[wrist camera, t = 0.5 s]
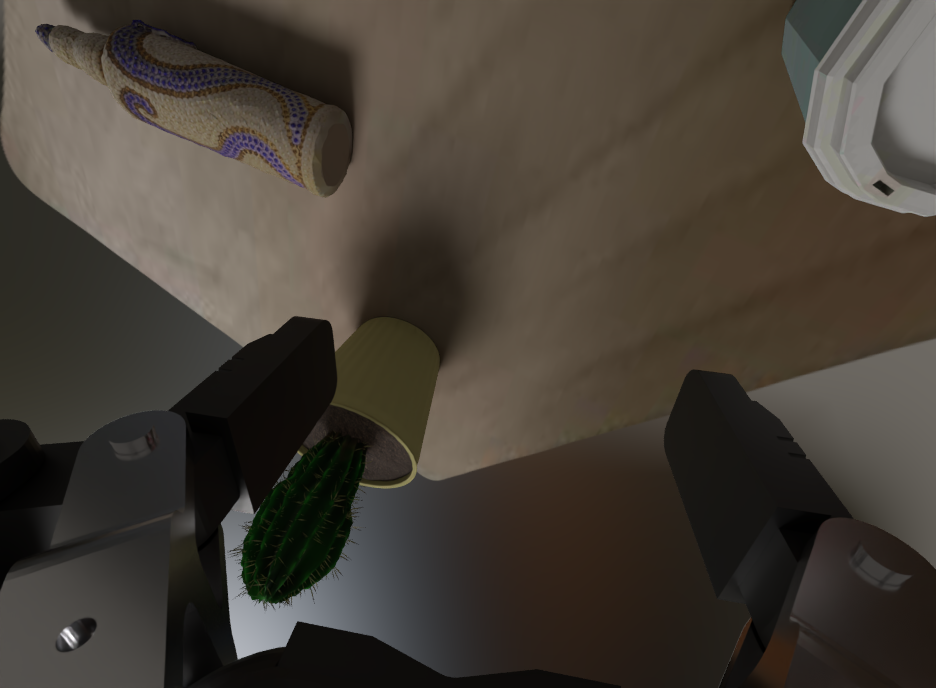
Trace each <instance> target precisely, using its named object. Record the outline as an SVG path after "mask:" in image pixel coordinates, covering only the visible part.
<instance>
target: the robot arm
mask: <svg viewBox="0 0 936 688" xmlns="http://www.w3.org/2000/svg"><path fill="white" fill-rule="evenodd" d="M336 388H337V368H336V359H335V349H334V340H333V331H332V326H331V324H330V322H329V321H327V320H321V319H314V318H306V317H298V316H294V317H292V318H291V319H290V320H289V321H287V322H286V323H285V324H284V325H283V326H282V327H281V328H279V329H278V330H277V331H276V332H275V333H274V334H268V335H266V336H264V337H262V338H259V339H257V340H255V341H253V342H251V343H249V344H247V345H246V346H245V347H243V348H242V349H241V350H240V351H239V352H238V353H236V354H235V355H234V356H233V357H232V360H228V361H227V362H225V364H223V365H222V366H221V367H219V371H215V372H214V373H212V374H211V375H210V376H209V377H208V378H206V379H205V380H204V381H203V382H202V383H200V384H199V385H198V386H197V387H196V388H194V389H193V390H192V391H191V392H190V393H189V394H187V395H186V396H185V397H184V398H182V399H181V400H180V401H179V402H178V403H177V404H175V405H174V406H173V407H172V408H171V409H169V410H168V411H164V410H152V411H144V412H138V413H134V414H130V415H127V416H124V417H122V418H119V419H117V420H114V421H112V422H110V423H108V424H106V425H104V426H103V427H101V428H100V429H98V430H96V431H95V432H94V433H93V434H91V435H90V436H89V437H88V438H87V439H86V440H85V441H81V442H70V443H56V444H43V445H40V444H39V443H38V441H37V439H36V438H35V436H34V434H33V433H32V431H31V429H30V428H29V426H28V425H27V424H26V423H24V422H21V421H18V420H11V419H10V420H9V419H2V420H0V688H621V686H618V685H613V684H607V683H602V682H598V681H593V680H588V679H583V678H578V677H573V676H568V675H563V674H558V673H553V672H548V671H543V670H538V669H535V670H526V671H517V672H507V673H498V674H489V675H479V676H470V677H460V678H451V677H447V676H444V675H442V674H440V673H438V672H436V671H434V670H433V669H431V668H429V667H427V666H426V665H424V664H422V663H420V662H418V661H416V660H414V659H413V658H411V657H409V656H407V655H406V654H404V653H402V652H400V651H398V650H397V649H395V648H393V647H391V646H389V645H388V644H386V643H384V642H382V641H380V640H378V639H377V638H375V637H373V636H368V635H363V634H358V633H353V632H348V631H343V630H338V629H333V628H328V627H323V626H318V625H314V624H308V623H304V622H297V623H296V626H295V628H294V630H293V632H292V634H291V636H290V639H289V641H288V643H287V645H286V647H280V648H275V649H270V650H266V651H262V652H258V653H255V654H252V655H249V656H247V657H244V658H241V659H238V658H237V653H236V648H235V644H234V640H233V636H232V631H231V624H230V615H229V603H228V588H227V574H226V560H225V547H224V533H223V528H222V526H221V522H222V521H223V519H224V518H225V517H226V515H227V514H228V513H229V511H230V510H233V511H238V512H244V513H249V514H255V512H256V511H257V510H258V508H259V507H260V505H261V504H262V502H263V501H264V499H265V498H266V496H267V495H268V494H269V492H270V491H271V489H272V488H273V486H274V485H275V483H276V482H277V480H278V479H279V478H280V476H281V475H282V473H283V472H284V470H285V469H286V467H287V466H288V464H289V463H290V462H291V460H292V459H293V457H294V456H295V454H296V453H297V451H298V450H299V449H300V447H301V446H302V444H303V443H304V441H305V440H306V438H307V437H308V435H309V434H310V433H311V431H312V430H313V428H314V427H315V425H316V424H317V422H318V421H319V419H320V418H321V417H322V415H323V414H324V412H325V411H326V409H327V408H328V406H329V405H330V403H331V402H332V400H333V398H334V395H335V392H336ZM793 439H794V438H793V437H792V436H791V434H790V433H789V432H788V430H787V429H786V428H785V426H784V425H783V423H782V422H781V421H780V419H778V418H777V417H776V416H775V415H773V414H772V413H771V412H769V411H768V410H767V409H766V408H764V407H763V406H762V405H760V404H759V403H758V402H757V401H751V399H750V398H749V397H748V395H747V394H746V392H745V391H744V389H743V388H742V387H741V385H740V384H739V382H738V381H737V379H736V378H735V377H734V376H733V375H731V374H725V373H717V372H709V371H702V370H691V371H690V372H689V373H688V374H687V375H686V377H685V379H684V382H683V384H682V387H681V389H680V392H679V394H678V397H677V399H676V402H675V404H674V407H673V409H672V412H671V415H670V417H669V420H668V422H667V425H666V428H665V434H664V448H665V453H666V456H667V459H668V462H669V464H670V467H671V470H672V473H673V476H674V479H675V481H676V484H677V487H678V490H679V493H680V495H681V498H682V501H683V504H684V507H685V510H686V512H687V515H688V518H689V521H690V524H691V527H692V529H693V532H694V535H695V538H696V541H697V543H698V546H699V549H700V552H701V555H702V557H703V560H704V563H705V566H706V568H707V572H708V574H709V577H710V580H711V583H712V586H713V589H714V591H715V594H716V597H717V599H721V600H727V601H732V602H737V603H743V604H746V606H747V608H748V610H749V613H750V615H751V618H750V619H749V621H748V622H747V623H746V625H745V626H744V628H743V630H742V633H741V635H740V637H739V640H738V642H737V644H736V647H735V649H734V652H733V654H732V657H731V659H730V661H729V664H728V666H727V668H726V671H725V673H724V676H723V678H722V680H721V683H720V685H719V688H936V569H935V568H934V567H933V566H932V565H931V564H930V563H929V562H928V561H927V560H926V559H925V558H924V557H922V556H921V555H920V554H919V553H918V552H917V551H915V550H914V549H913V548H911V547H910V546H909V545H907V544H906V543H904V542H903V541H901V540H900V539H898V538H897V537H895V536H893V535H891V534H890V533H888V532H886V531H884V530H882V529H880V528H878V527H876V526H873V525H870V524H868V523H865V522H862V521H859V520H855V519H853V517H852V516H851V514H850V513H849V512H848V510H847V509H846V508H845V506H844V505H843V504H842V502H841V501H840V500H839V498H838V497H837V496H836V494H835V493H834V492H833V490H832V489H831V488H830V486H829V485H828V484H827V482H826V481H825V480H824V478H823V477H822V476H821V475H820V473H819V472H818V470H817V469H816V468H815V466H814V465H813V464H812V462H811V461H810V460H809V459H806V454H805V453H804V452H803V450H802V449H801V448H800V447H799V445H798V444H797V443H796V442H793Z"/></svg>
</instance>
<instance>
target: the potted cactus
mask: <svg viewBox="0 0 936 688" xmlns="http://www.w3.org/2000/svg"><path fill="white" fill-rule="evenodd" d="M335 359H336V368H337V388H336V392H335V395H334V398H333V400H332V402H331V403H330V405H329V406H328V408H327V409H326V411H325V412H324V414H323V415H322V417H321V418H320V419H319V421H318V422H317V424H316V425H315V427H314V428H313V430H312V431H311V433H310V434H309V435H308V437H307V438H306V440H305V441H304V443H303V444H302V446H301V447H300V449H299V450H298V451H297V452H298V453H299V454H300V455H301V456H302V458H301V460H300V461H298V462H297V463H296V464H295V465H294V466H293V467H292V468H291V470H290V472H289V474H288V477H287V479H286V480H284V481H282V482H281V481H280V482H279V483H278V482H277V483H278V484H277V485H276V486H274V488H272V489H271V491H270V492H269V494H268V495H267V496H266V498H265V500H264V502H262V504H261V506H260V509H259V511H258V512H257V514H256V516H255V518H254V519H253V523H252V526H248V525H247V526H248V527H247V528H250V529H249V531H248V530H246V529H245V530H246V531H248V534H247V536H246V538H245V539H244V542H243V544H244V546H243V550H242V549H237V548H236V549H237V550H241V551H242V555H243V557H242V560H241V562H240V563H241V566H242V567H243V571H242V575H241V576H242V577H241V578H243V582H244V584H246V586H245V587H246V588H245V589H246V590H247V591H248V595H250V596H251V599H252V600H256V599H259V603H260V602H261V601H264V603H263V604H265V601H266V602H269V603H271V605H272V603H275V604H277V603H278V602H279V603H282V602H283V601H286V602H287V601H288V602H290V601H289V600H288V598H290V597H291V600H292V596H296V595H297V594H299V593H301V590H303V589H309V588H310V589H311V586H313V585H314V584H315V583H316V582H318V581H320V580H321V579H322V578H323V577H324V576H325V575H327V574H328V573H329V572H330V571H331V570H332V569H334V567H335V565H336V562H337V561H338V559H339V557H342V556H340V555H341V552H342V549H343V548H344V546H345V543H346V541H347V539H348V537H349V534H350V529H351V528H350V527H351V526H352V524H353V521H352V517H354V516H351V515H352V514H354V513H351V510H352V509H351V504H352V502H353V500H355V499H354V498H355V493H356V492H357V490H358V486H359V485H364V486H369V487H375V488H395V487H400V486H403V485H405V484H408V483H409V482H411V481H412V479H413V478H414V477H415V474H416V472H417V464H418V461H419V457H420V452H421V448H422V443H423V438H424V434H425V429H426V425H427V420H428V416H429V411H430V407H431V403H432V398H433V394H434V389H435V385H436V380H437V376H438V371H439V367H440V356H439V352H438V350H437V348H436V346H435V344H434V343H433V341H432V340H431V339H430V338H429V337H428V336H427V335H426V334H425V333H424V332H423V331H421V330H420V329H419V328H417V327H416V326H414V325H412V324H410V323H408V322H405V321H403V320H400V319H396V318H390V317H378V318H373V319H370V320H368V321H367V322H365V323H364V324H362V325H361V326H360V327H359V328H358V329H357V330H356V331H355V332H354V333H353V334H352V335H351V336H350V337H349V338H348V339H347V340H346V341H345V342H344V344H343V345H342V346H341V347H340V348H339V349H338V350H337V351H336V352H335ZM285 471H287V470H285ZM284 478H285V477H284ZM359 490H360V489H359ZM364 493H365V492H364ZM356 500H357V499H356ZM352 506H353V505H352ZM354 509H358V508H354ZM357 513H358V512H357ZM248 523H250V522H248ZM243 527H245V526H243ZM348 541H350V540H348ZM351 542H352V541H351ZM353 543H354V542H353ZM347 544H348V543H347ZM232 551H236V550H235V549H234V550H232ZM241 551H240V552H241ZM230 552H231V551H230ZM240 552H237V553H240ZM234 554H235V553H234ZM237 555H238V554H237ZM234 556H235V555H234ZM345 556H346V555H345ZM346 557H347V556H346ZM342 558H344V557H342ZM344 559H345V558H344ZM346 560H347V559H346ZM337 570H338V569H337ZM338 571H339V570H338ZM339 573H340V572H339ZM335 574H336V573H335ZM326 577H327V576H326ZM316 585H317V583H316ZM243 588H244V587H243ZM313 588H314V586H313ZM314 589H315V588H314ZM304 591H305V590H304ZM243 592H244V591H243ZM311 593H312V590H311ZM244 594H245V593H244ZM300 595H301V594H300ZM312 596H313V594H312ZM263 599H264V600H263ZM286 602H285V603H286ZM288 602H287V604H289V603H288ZM283 603H284V602H283ZM291 605H292V604H291ZM272 606H273V605H272ZM264 608H265V607H264ZM273 608H274V607H273Z"/></svg>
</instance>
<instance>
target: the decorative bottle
mask: <svg viewBox="0 0 936 688" xmlns="http://www.w3.org/2000/svg"><path fill="white" fill-rule="evenodd" d="M138 24H141V25H143V27H142V26H138ZM148 28H151V30H150V29H148ZM35 32H36V33H37V36H38V38H39V39H40V40H41V41H42V42H43V43H44V45H45V46H46V47H47V48H48V49H49V50H51V51H52V52H54V53H55V55H56V56H57V57H59V58H60V59H61V60H63V61H64V62H66V63H68V64H70V65H73V66H75V67H76V68H78V69H82V70H84V71H85V73H87V74H88V75H89V76H91V77H92V78H93V79H95V80H97V81H98V82H100V83H101V84H103V85H106V86H108V88H109V90H110V92H111V94H112V96H113V97H114V99H115V100H116V101H117V103H118V104H119V105H120V106H121V107H122V108H123V109H124V110H125V111H127V112H128V113H129V114H130V115H131V116H132V117H133V118H136V119H138V120H141V121H143V122H145V123H148V124H150V125H153V126H155V127H157V128H159V129H161V130H163V131H166V132H168V133H171V134H173V135H176V136H178V137H181V138H183V139H186V140H189V141H192V142H194V143H196V144H198V145H200V146H203V147H206V148H209V149H210V150H213V151H215V152H218V153H219V154H221V155H223V156H225V157H230V158H234V159H236V160H238V161H240V162H242V163H245V164H248V165H251V166H252V167H254V168H257V169H259V170H261V171H263V172H265V173H268V174H271V175H273V176H276V177H279V178H281V179H283V180H285V181H287V182H290V183H293V184H297V185H298V186H300V187H303V188H306V189H308V190H309V191H310V192H311V193H312V194H314V195H317V196H321V197H325V198H326V197H328V196H330V195H332V194H333V193H334V192H336V191H337V189H338V187H339V186H340V184H341V183H342V182H343V179H344V177H345V175H346V174H347V169H348V166H349V163H350V159H351V155H352V129H351V125H350V122H349V119H348V116H347V115H346V113H345V112H344V111H343V110H341V109H340V108H338V107H337V106H335V105H328V104H325V103H323V102H321V101H318V100H316V99H314V98H311V97H309V96H307V95H304V94H301V93H298V92H296V91H293V90H290V89H288V88H285V87H283V86H281V85H279V84H276V83H273V82H271V81H269V80H266V79H264V78H262V77H260V76H258V75H256V74H253V73H251V72H249V71H246V70H243V69H241V68H239V67H237V66H234V65H231V64H229V63H227V62H225V61H223V60H221V59H218V58H215V57H213V56H211V55H209V54H206V53H203V52H201V51H199V50H197V49H196V45H195V44H194V43H193V42H187V41H184V40H183V39H181V38H179V37H176V36H173V35H171V34H169V33H168V32H167V31H165V30H161V29H157V28H154V27H152V26H149V25H147V24H145V23H144V22H142V21H141V20H133V22H132V24H131V25H126V26H122V27H120V28H118V29H116V30H114V31H113V32H112V33H111V35H110V36H106V35H102V34H98V33H84V32H82V31H80V30H77V29H75V28H72V27H69V26H63V25H58V26H56V27H55V26H53V25H49V24H41V25H40V26H37V28H36V30H35ZM165 36H166V37H165Z"/></svg>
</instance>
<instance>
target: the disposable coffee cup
mask: <svg viewBox="0 0 936 688" xmlns="http://www.w3.org/2000/svg"><path fill="white" fill-rule="evenodd" d="M781 54H782V56H783V59H784V62H785V65H786V68H787V71H788V74H789V76H790V79H791V82H792V85H793V88H794V91H795V94H796V96H797V99H798V102H799V105H800V108H801V111H802V114H803V116H804V119H805V122H806V124H805V130H804V136H803V142H802V143H803V145H804V146H805V148H806V149H807V151H808V153H809V154H810V156H811V158H812V159H813V161H814V162H815V164H816V166H817V167H818V169H819V171H820V172H821V174H822V175H823V177H824V179H825V180H826V181H827V182H829V183H830V184H831V185H833V186H834V187H836V188H837V189H838V190H840V191H841V192H843V193H845V194H848V195H850V196H851V197H852V198H854V199H857V200H860V201H863V202H867V203H870V204H874V205H877V206H880V207H884V208H887V209H890V210H894V211H897V212H901V213H908V212H910V213H914V214H917V215H921V216H924V217H927V216H933V215H936V0H796V2H795V3H794V5H793V7H792V8H791V10H790V12H789V13H788V15H787V17H786V20H785V29H784V37H783V45H782V53H781Z"/></svg>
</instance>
